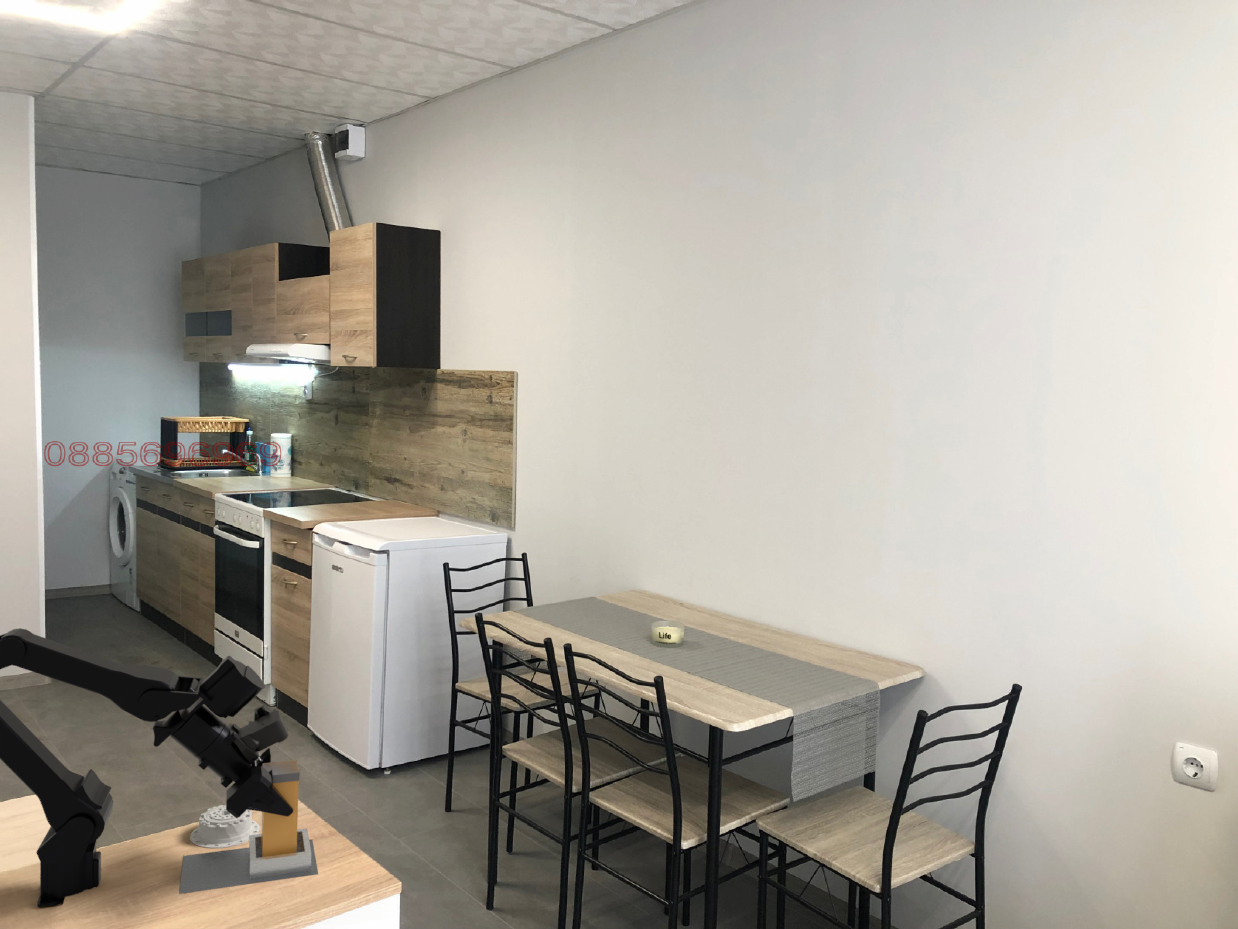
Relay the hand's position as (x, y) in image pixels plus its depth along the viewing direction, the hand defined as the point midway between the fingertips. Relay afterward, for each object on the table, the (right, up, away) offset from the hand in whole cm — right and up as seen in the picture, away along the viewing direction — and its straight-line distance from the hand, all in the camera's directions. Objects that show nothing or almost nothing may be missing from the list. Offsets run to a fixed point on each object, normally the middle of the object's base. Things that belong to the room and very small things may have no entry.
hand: (290, 806), depth 138 cm
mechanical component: (-13, -8, +8) cm, 17 cm away
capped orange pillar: (-2, -7, 0) cm, 7 cm away
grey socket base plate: (-5, -9, -1) cm, 10 cm away
